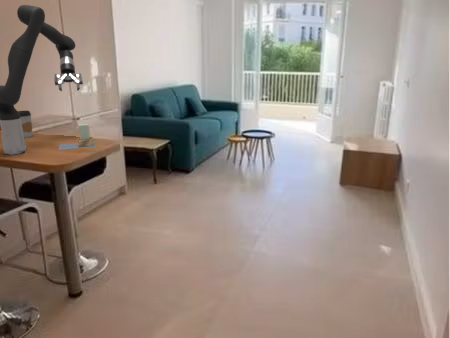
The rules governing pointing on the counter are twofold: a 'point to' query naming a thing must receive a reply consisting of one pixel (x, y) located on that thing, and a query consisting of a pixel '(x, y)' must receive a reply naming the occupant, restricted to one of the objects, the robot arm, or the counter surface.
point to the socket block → (85, 142)
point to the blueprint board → (72, 146)
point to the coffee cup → (26, 123)
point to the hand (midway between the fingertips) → (69, 89)
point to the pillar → (84, 132)
